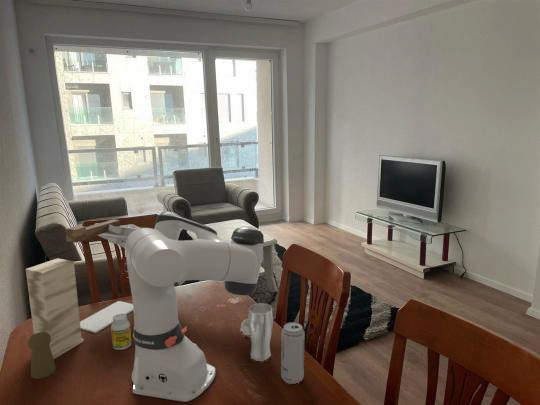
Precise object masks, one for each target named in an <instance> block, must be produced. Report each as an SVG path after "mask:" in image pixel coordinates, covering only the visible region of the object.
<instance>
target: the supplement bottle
mask: <svg viewBox="0 0 540 405" xmlns="http://www.w3.org/2000/svg"><path fill="white" fill-rule="evenodd" d="M127 316H128V314H127V315H126V314H117V315H115V316H114V317H113V323H112V324H111V326H110V331H111V341H112V342H111V343H112V348H113V349H114V350H116V351H121V350H125V349H128V348H129V347H130V346H131V345H132V334H131V323H130V321H129V320H128V317H127Z"/></svg>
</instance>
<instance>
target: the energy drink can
mask: <svg viewBox="0 0 540 405" xmlns="http://www.w3.org/2000/svg"><path fill="white" fill-rule="evenodd" d="M305 334H306V332H305V331H304V329H303V325H301V324H300V323H298V322H295V321H293V322H292V321H291V322H287V323H285V324H284V325H283V329H282V330H281V337H280V338H281V339H280V340H281V341H280V343H281V344H280V345H281V346H280V349H281V350H280V377H281V379H282V380H283V382H284V381H285V382H286V384H287V383H288V384H287V385H290V384H296V383H298V384H300V383H301V382H302V380H303V379H304V374H305V372H304V371H305V340H306V338H305ZM300 381H301V382H300ZM285 382H284V383H285ZM299 382H300V383H299ZM296 385H297V384H296Z"/></svg>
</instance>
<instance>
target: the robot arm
mask: <svg viewBox="0 0 540 405" xmlns="http://www.w3.org/2000/svg"><path fill="white" fill-rule="evenodd" d="M95 224H99V223H98V222H96V223H94V224H93V225H95ZM106 229H107V230H109V232H106V233H103V234H100V235H97V236H98V237H100V238H103V239H105V240H107V241H108V243H111V244H113V245H114V244H115V245H117V246H120V247H121V248H124V250H125V258H126V267H127V275H128V280H129V287H130V294H131V297H132V304H133V311H132V312H133V321H134V322H133V324H134V326H133V327H132V337H133V342H134V345H135V346H134V347H135V349H134V362H133V369H132V373H131V381H132V383H133V386H132V393H133V394H135V395H140V396H146V397H153V398H160V399H165V400H170V401H171V400H172V401H178V402H189V401H192V400H194V399H196V398H198V397H199V396H200V395H201V394H202V393H204V391H206V390H207V388H209V387H210V385H211V384H212V383H213V381H214V379H215V377H216V372H217V371H216V368H215V366H213V365H211V364H209V363H207V359H206V358H207V357H206V356H205V353H204V352H203V350H201V349H200V348H199V347H198V344H197V343H193V342H192V341H191V339H189V338H188V337H187V336H186V335H185V332H187V331H188V329H187V327H188V326H187V325H186V326H184V328H183V327H182V325H181V322H180V320H179V317H178V316H179V314H178V295H177V291H176V287H175V284H176V283H179V282H180V283H181V282H185V281H212V282H213V281H215V282H223V283H224V288H225V290H226V291H227V293H228V294H230V295H233V296H234V297H235V296H236V297H239V298H240V297H242V298H243V297H248V296H252V295H253V294H255V292H256V290H257V286H258V285H259V284H258V279H259V276H260V272H261V267H262V263H263V256H264V251H263V250H264V243H265V238H264V234H263V232H262V231H261V230H259V229H257V228H256V227H253V226H249V225H248V226H247V225H244V226H241V227H236V228H235V229H234V230H233V232H232V235H231V238H230V239H231V240H229V239H228V240H227V239H223V238H221V237H219V236H218V232H217V230H215V229H213V227H210V226H207V225H204V224H202V223H200V222H197V221H196V220H195V221H194V220H192V219H188V218H186V217H182V216H180V215H179V214H177V213H175V212H172V211H163V212H161V213H159V214H158V215H157V216H156V219H155V225H154V228H150V227H139V226H137V225H135V224H131V223H129V224H125V225H123V224H122V225H120V226H118V227H116V226H113V225H107V228H106ZM183 230H185V231H187V232H191V233H194V234H195V236H196V238H195V239H189V240H188V239H187V240H179V237H180V234H181V232H182V231H183Z"/></svg>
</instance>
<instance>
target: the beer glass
mask: <svg viewBox="0 0 540 405" xmlns="http://www.w3.org/2000/svg"><path fill="white" fill-rule="evenodd" d="M273 317H274V316H273V307H272V306H271V305H270V304H267V303H263V302H262V303H255V304H251V305H250V306H249V307H248V318H249V319H248V318H247V319H248V324H249V325H248V326H249V332H250V337H249V338H250V341H251V344H250V345H251V350H250V353H249V356H251V357H250V359H251V358H252V359H254V360H256V361H264V360H266V359H268V358H269V357H270V356H271V357H272V353H271V346H270V345H271V344H270V343H271V338H272V334H273V333H272V332H273V328H274V327H273V325H274V324H273V323H274V318H273ZM252 359H251V360H252ZM254 360H253V361H254ZM256 361H255V362H256Z"/></svg>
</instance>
